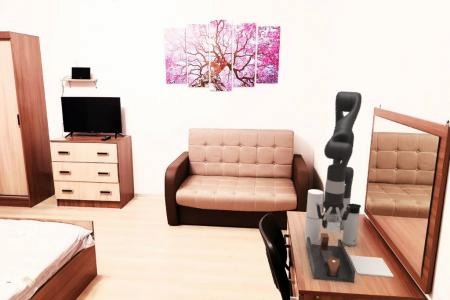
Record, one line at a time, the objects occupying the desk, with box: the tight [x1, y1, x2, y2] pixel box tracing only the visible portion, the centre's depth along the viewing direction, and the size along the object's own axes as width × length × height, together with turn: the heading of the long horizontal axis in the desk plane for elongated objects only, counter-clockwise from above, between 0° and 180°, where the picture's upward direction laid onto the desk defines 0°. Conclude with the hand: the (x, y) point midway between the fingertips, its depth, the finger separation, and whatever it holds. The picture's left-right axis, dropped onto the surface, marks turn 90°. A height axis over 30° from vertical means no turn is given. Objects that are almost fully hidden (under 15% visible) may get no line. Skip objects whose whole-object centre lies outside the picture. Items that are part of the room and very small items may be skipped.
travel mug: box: [341, 203, 362, 247], centre depth 156 cm, size 6×7×20 cm
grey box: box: [326, 214, 341, 233], centre depth 137 cm, size 9×5×5 cm, turn 173°
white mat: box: [348, 255, 395, 278], centre depth 139 cm, size 14×14×1 cm
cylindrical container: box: [304, 189, 325, 244], centre depth 159 cm, size 7×7×25 cm
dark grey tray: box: [305, 232, 356, 283], centre depth 141 cm, size 26×15×8 cm, turn 173°
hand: (331, 228), depth 138 cm, fingers closed on grey box, 5 cm apart
